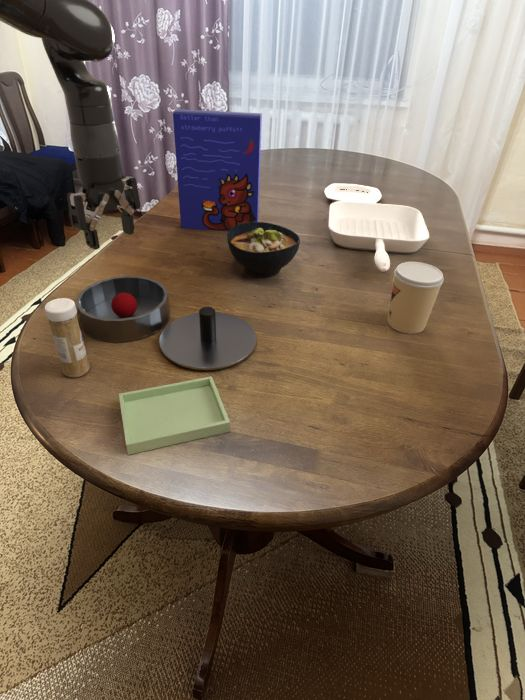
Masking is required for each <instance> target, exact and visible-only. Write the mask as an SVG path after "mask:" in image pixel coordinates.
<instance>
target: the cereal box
mask: <svg viewBox="0 0 525 700" xmlns="http://www.w3.org/2000/svg"><path fill="white" fill-rule="evenodd" d="M262 116H263V113H261V112H260V113H259V112H242V111H223V110H222V111H220V110H200V109H180V108H178V109H175V110H174V111H173V113H172V121H173V122H172V124H173V136H174V150H175V162H176V163H175V165H176V177H177V191H178V204H179V219H180V228H181V229H188V230H203V231H204V230H207V231H222V232H229V230H230V229H231V228H232V227H234V226H236V225H239V224H242V223H247V222H259V217H260V216H259V214H260V212H259V211H260V182H261V181H260V180H261V154H262V153H261V151H262V148H261V147H262V121H263V120H262V118H263V117H262Z"/></svg>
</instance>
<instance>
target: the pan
mask: <svg viewBox="0 0 525 700" xmlns="http://www.w3.org/2000/svg"><path fill="white" fill-rule="evenodd" d="M327 226H328V229H329V233H330V236H331V238H332V241H333V243H334V245H337V246H338V247H341V248H344V249H349V250H359V251H371V252H375V253H374V258H373V260H374V264H375V267H376V268H377V270H379V271H380V272H388V271H389V269H390V268H391V260H390V256H389V254H388V253H393V254H414V253H416V252H417V251H419V250H420V249H421V248H422V247H423V245H425V243H427V241H428V240H429V239H430V232H429V230H428V227H427V223H426V222H425V219H424V217H423V213H422V211H420V210H419V209H418V208H415V207H413V206H412V207H411V206H408V205H402V204H391V203H389V204H388V203H378V202H377V203H366V202H354V201H337V202H334V201H333V202H331V203H330V205H329V211H328V225H327Z"/></svg>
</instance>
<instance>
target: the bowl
mask: <svg viewBox="0 0 525 700" xmlns="http://www.w3.org/2000/svg"><path fill="white" fill-rule="evenodd" d="M226 239H227V245H228V248H229V251H230V253H231V255H232V257H233V258H234V259H235V260H236V262H237V263H239V264H240V265H241V266H242V267H243V268H244V270H245V272H246V273H247V274H249V275H251V276H252V277H257V278H271V277H274V276H276V275H277V274H279V273H280V271H281V269H283V268H284V267H286V266H287V265H288V264H289V263H290V262H292V260H294V258H295V256H296V255H297V252H298V250H299V248H300V244H301V237H300V236H299V234H297V233H296V232H294V231H293V230H291V229H289V228H288V227H284V226H281V225H279V224H275V223H271V222H264V221H258V222H247V223H242V224H239V225H236V226H234V227H232V228H231V229H230V230H229V231H227V237H226Z"/></svg>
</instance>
